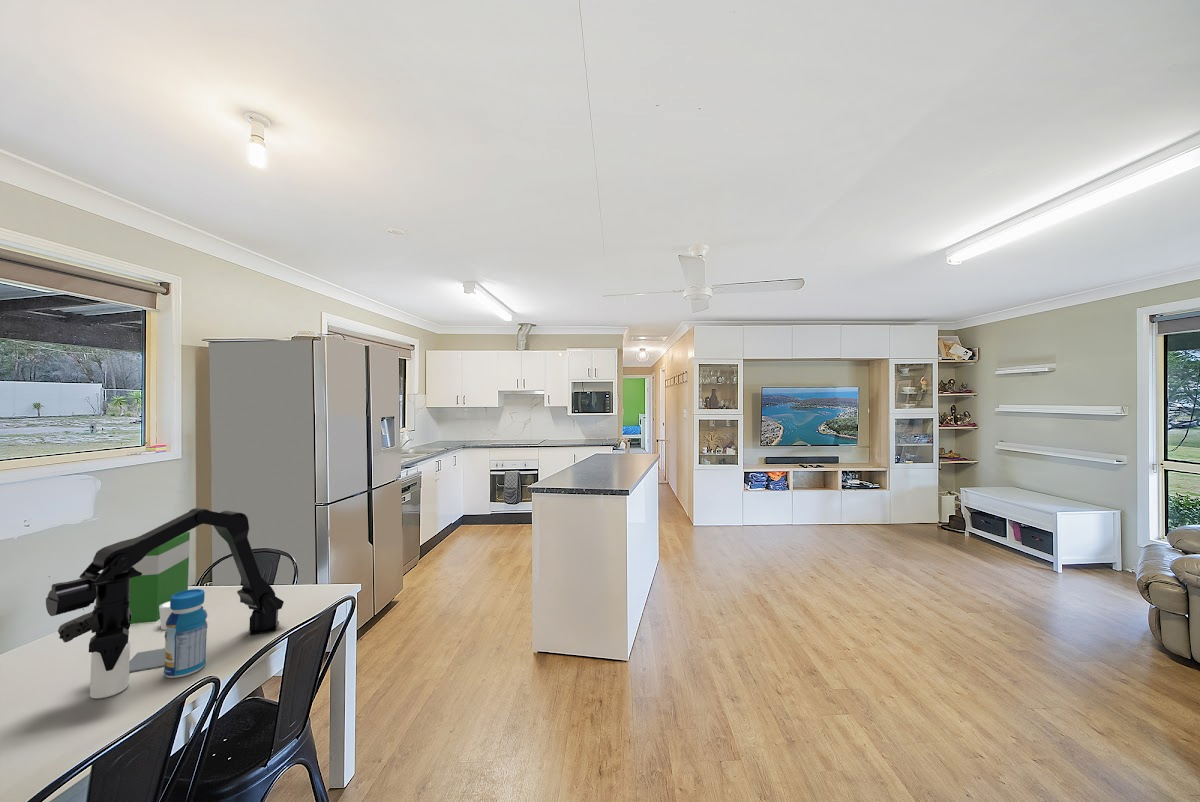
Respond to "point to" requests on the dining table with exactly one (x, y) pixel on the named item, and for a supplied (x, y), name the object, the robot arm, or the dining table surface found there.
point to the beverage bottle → (185, 634)
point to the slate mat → (147, 660)
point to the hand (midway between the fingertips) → (110, 664)
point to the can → (109, 675)
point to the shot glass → (164, 614)
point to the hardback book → (159, 578)
